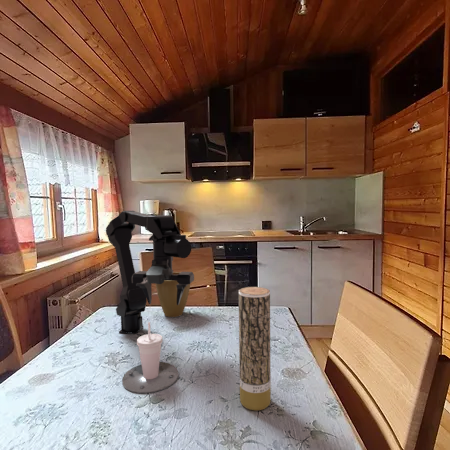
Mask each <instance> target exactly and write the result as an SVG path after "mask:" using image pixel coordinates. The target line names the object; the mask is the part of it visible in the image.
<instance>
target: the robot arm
mask: <svg viewBox="0 0 450 450" xmlns="http://www.w3.org/2000/svg"><path fill="white" fill-rule="evenodd" d="M136 226H140V227H143V228H146V231H147V232H149V233H150V234H152V235H150V237H149V238H148V241H152V247H153V248H152V249H153V250H152V254H153V255H152V256H153V257H152V258H153V259H152V260H151V266H150V267H149V269H148V270H139V271H137V272H136V271H135V265H134V261H133V256H132V251H131V248H130V244H131V241H132V238H133V233H132V232H133V231H134V230H135V229H136ZM105 233H106V235H107V238H108V239H107V240H108V242H109V243H110V244H111V245H112V246H113V247H114V248H115V255H116V258H117V263H118V268H119V273H120V277H121V284H122V289H121V292H120V295H119V299H120V300H119V301H120V302H119V304H118V305H117V307H116V308H115V312H116V315H117V316H118V317H120V330H118V333H119V334H135V335H136V334H137V333H139V332H140V331H141V330H142V329H143V328H144V325H143V316H142V313H143V312H145V311H146V306H147V303H148V305H151V304H152V297H153V295H152V292H153V291H152V289H153V288H152V287H153V286H152V285H153V284H155V285H156V284H162V283H163V282H164V280H172V281H177V282H178V283H179V284H177V285H176V286H177V305H179V303H180V300H181V297H182V294H183V291H184V289H185V287H186V286H187V285H188V284H190V285H191V284H192V283H193V282H194V281H195V274H194V272H193V271H180V272H181V273H179V274H178V275H175V274H172V273H173V272H174V269H173V261H174V258H179V259H180V258H181V259H186V258H188V257H189V256H190V254H191V252H192V245H191V242H190V241H189V240H188V238H187V235H186V234H181V231H180V229H179V228H178V225H177V224H176V222H175V220H174V217H173V216H172V215H168V214H167V215H165V214H164V215H151V214H148V213H141V212H138V211H136V210H123V211H121V212H119V215H117V216H116V217H114V218H113V219H111V220H110V222H109V223H108V224H107V226H106V228H105Z"/></svg>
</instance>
